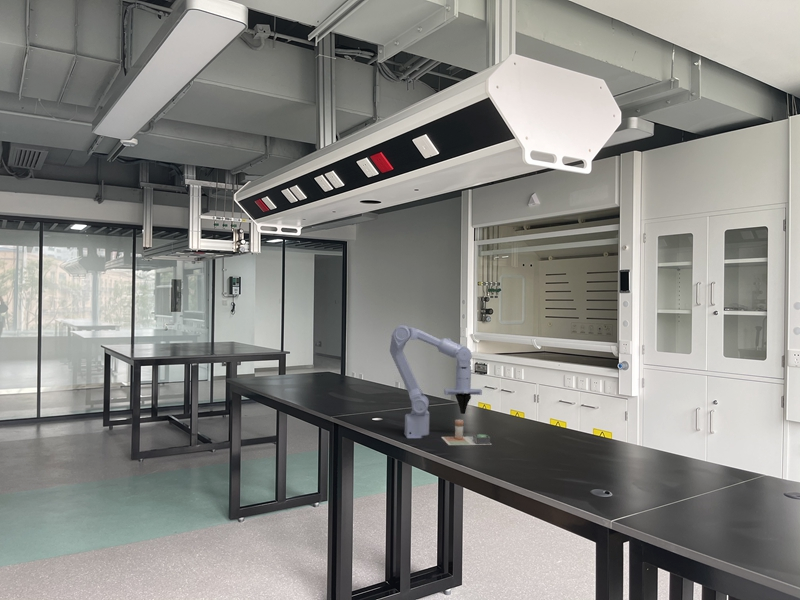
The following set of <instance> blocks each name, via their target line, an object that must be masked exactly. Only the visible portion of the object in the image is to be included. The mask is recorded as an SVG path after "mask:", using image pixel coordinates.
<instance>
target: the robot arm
mask: <svg viewBox="0 0 800 600" xmlns="http://www.w3.org/2000/svg"><path fill="white" fill-rule="evenodd" d="M390 339H391V340H390V347H389V353H390V355H391V357H392V359H393V361H394V364H395V367H396V368H397V370H398V373H399V374H400V377H401V379H402V382H403V384H404V386H405V388H406V390H407V392H408V395H409V399H410V402H411V412H410V413H406V414H405V415H404V433H403V434H404V436H405V437H406V439H424V437H423V436H428V435H430V411H428V409H429V405H430V401H429V398H428V397H427V396H426V395H425V394H424V393H423V390H421V387H420V385H419V383H418V381H417V379H416V377H415V375H414V373H413V370H412V368H411V366H410V363H409V361H408V360H407V357H406V355H405V353H404V348H405V347H406V343H407V342H408V341H409V339H410V340H411V341H413V340H419V341H422V342H424V343H426V344H429V345H432V346H434V347H436V348H437V350H438V352H439V353H442V354H443V355H446V356H448V357H450V358H452V359H456V366H455V367H456V368H455V369H456V370H455V388H445V389H444V390H443V391H444V393H443V394H444V395H445V396H448V395H450V396H451V395H452V396H453V395H454V397H455V398H456V400H457V403H458V407H459V411H460V414H462V415H465V414H466V410H467V407H468V404H469V402H470V401H471V398H472V395H474V396H475V395H477V396H478V395H479V396H482V395H483V389H481V388H471V386H472V384H471V383H472V382H471V381H472V366H471V365H472V362H471V360H472V357H473V355H472V351H471V350H470V349H469V348H468V347H467V346H464V345H463V344H462V343H457V342H455V341H452V339H451V338H449V337H448V338H445V337H443V338H441V339H440V338H438V337H435V336H433V335H431V334H429V333H428V332H425V331H423V330H422V329H418V328H416V327H412V326H408V325H407V324H401V325H398V326H396V327H395V329H394V330H393V332H392V333H391V338H390Z"/></svg>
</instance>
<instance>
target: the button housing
mask: <svg viewBox="0 0 800 600" xmlns="http://www.w3.org/2000/svg"><path fill="white" fill-rule="evenodd" d="M477 435H478V434H473V435H472V437H473V441H474V442H475V443H476V444H490V443H491V437H490V436H489V435H488V434H485V435H486V437H477Z"/></svg>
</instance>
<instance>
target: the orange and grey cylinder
mask: <svg viewBox="0 0 800 600" xmlns="http://www.w3.org/2000/svg"><path fill="white" fill-rule="evenodd" d="M454 437H455V439H456V440H463V437H464V419H459V418H457V419H456V418H455V419H454Z"/></svg>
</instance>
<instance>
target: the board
mask: <svg viewBox="0 0 800 600" xmlns="http://www.w3.org/2000/svg"><path fill="white" fill-rule="evenodd" d="M441 439H442V440H443V441H444V442H445V443H446V444H447V446H476V445H477V446H478V445H479V446H482V445H484V446H486V445H488V446H491V445H493V444H492V443H491V442H490V444H476V443H475V442H474V441H473V436H463V440H456V439H455V436H441Z"/></svg>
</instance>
